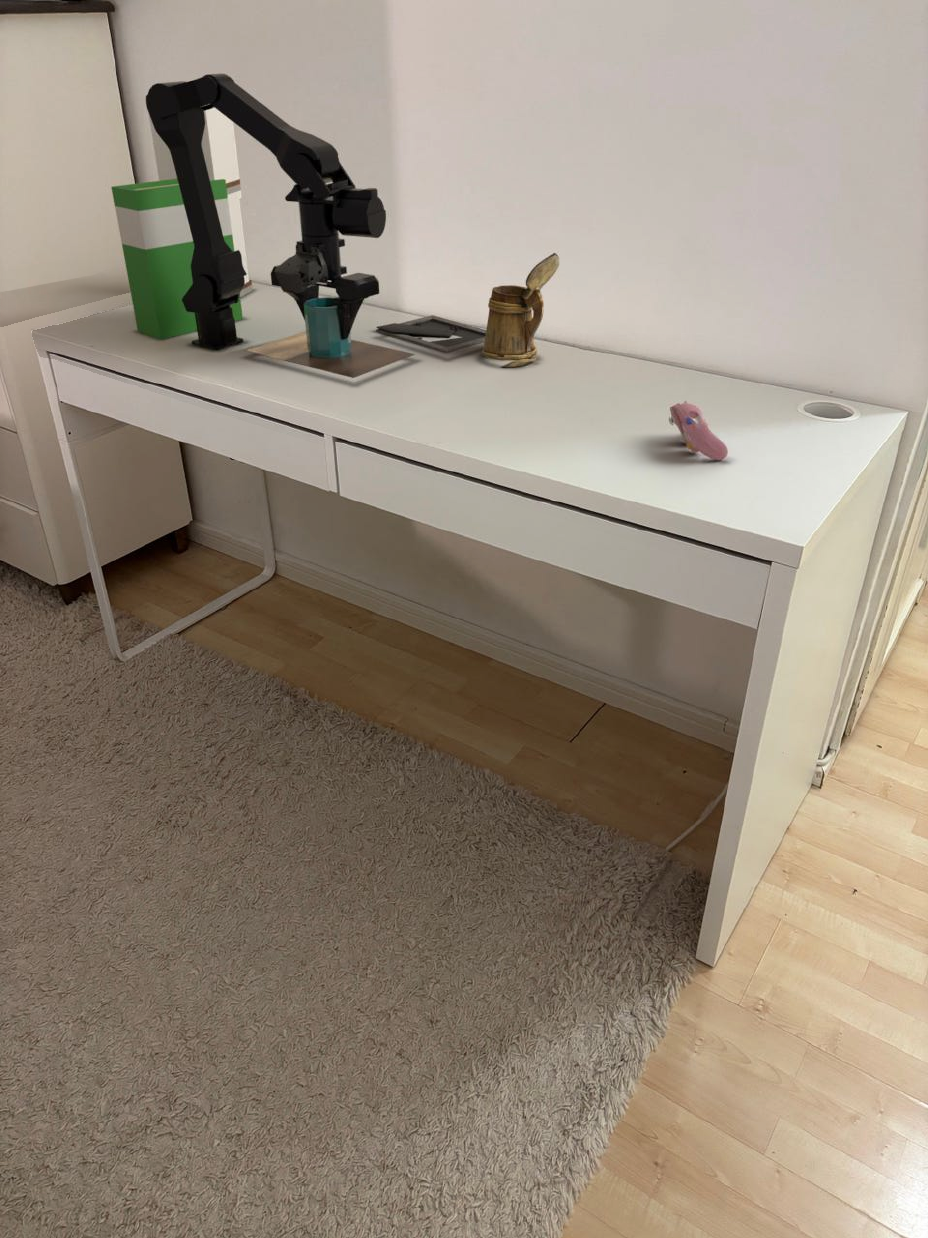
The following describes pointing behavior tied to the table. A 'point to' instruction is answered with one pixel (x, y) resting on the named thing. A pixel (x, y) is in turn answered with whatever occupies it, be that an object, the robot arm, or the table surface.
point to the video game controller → (696, 431)
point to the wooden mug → (517, 316)
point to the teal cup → (324, 329)
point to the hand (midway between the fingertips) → (328, 335)
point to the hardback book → (163, 252)
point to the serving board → (350, 365)
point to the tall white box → (214, 171)
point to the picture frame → (436, 333)
